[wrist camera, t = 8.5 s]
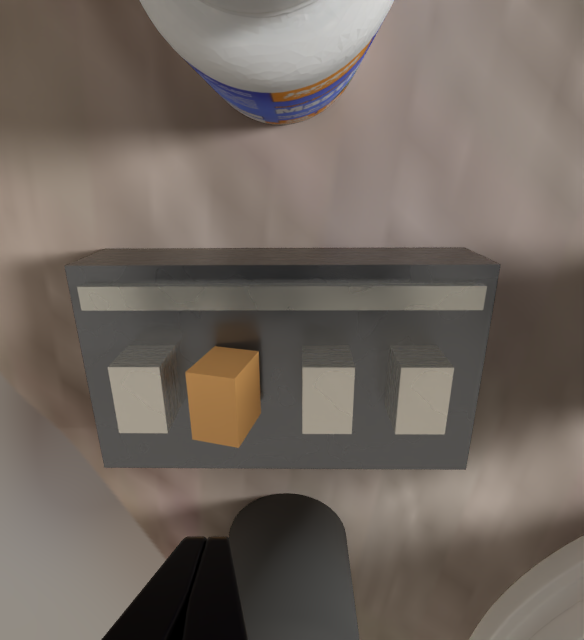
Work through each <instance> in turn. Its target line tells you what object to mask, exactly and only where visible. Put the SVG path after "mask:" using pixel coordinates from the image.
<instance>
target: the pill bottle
mask: <svg viewBox="0 0 584 640" xmlns="http://www.w3.org/2000/svg"><path fill="white" fill-rule="evenodd" d="M139 1H140V2H141V4H142V6H143V8H144V10H145V11H146V13H147V15H148V16H149V18H150V20H151V21H152V22H153V24H154V25H155V27H156V28H157V30H158V31H159V32H160V34H161V35H162V36H163V37H164V39H165V40H166V41H167V42H168V43H169V44H170V46H171V47H172V48H173V49H174V50H175V51H176V52H177V53H178V54H179V55H180V56H181V57H182V58H183V59H184V60H185V61H186V62H187V63H188V64H189V65H190V66H191V67H192V68H193V69H194V70H195V71H196V72H197V73H198V74H199V75H200V76H201V77H202V78H203V79H204V80H205V81H206V82H207V83H208V84H209V85H210V86H211V87H212V88H213V89H214V90H215V91H216V92H217V93H218V94H219V95H220V96H221V97H222V98H223V99H224V100H225V101H226V102H227V103H229V104H230V105H231V106H232V107H233V108H235V109H236V110H237V111H239V112H240V113H242V114H244V115H245V116H247V117H250V118H252V119H254V120H257V121H260V122H263V123H268V124H277V125H285V124H293V123H298V122H301V121H304V120H307V119H310V118H312V117H314V116H316V115H317V114H319V113H321V112H322V111H324V110H325V109H326V108H328V107H329V106H330V105H331V104H332V103H333V102H334V101H335V100H336V99H337V98H338V97H339V96H340V95H341V94H342V93H343V91H344V90H345V89H346V87H347V86H348V84H349V83H350V81H351V80H352V78H353V76H354V74H355V72H356V70H357V69H358V67H359V65H360V63H361V61H362V59H363V58H364V56H365V54H366V52H367V50H368V48H369V47H370V45H371V43H372V41H373V39H374V37H375V36H376V34H377V32H378V30H379V28H380V26H381V25H382V23H383V21H384V19H385V17H386V15H387V14H388V12H389V10H390V8H391V6H392V4H393V1H394V0H139Z"/></svg>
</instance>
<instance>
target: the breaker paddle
mask: <svg viewBox="0 0 584 640" xmlns="http://www.w3.org/2000/svg"><path fill="white" fill-rule="evenodd" d="M185 375H186V384H187V393H188V403H189V412H190V422H191V431H192V440H198V441H203V442H209V443H214V444H220V445H225V446H231V447H236V448H239V447H240V445H241V444H242V442H243V441H244V439H245V438H246V436H247V434H248V433H249V431H250V430H251V428H252V427H253V425H254V423H255V422H256V420H257V419H258V417H259V416H260V414H261V401H260V374H259V351H252V350H244V349H235V348H226V347H217V346H214V347H213V348H212V349H211V350H210V351H209V352H208V353H206V354H205V355H204V356H203V357H202V358H201V359H200V360H199V361H197V362H196V363H195V364H194V365H193V366H192V367H191V368H189V369H188V370H187V371H186V372H185Z"/></svg>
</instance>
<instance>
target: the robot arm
mask: <svg viewBox="0 0 584 640" xmlns="http://www.w3.org/2000/svg"><path fill="white" fill-rule="evenodd" d="M102 640H248V635H247V630H246V625H245V619H244V614H243V609H242V604H241V598H240V593H239V588H238V583H237V577H236V572H235V567H234V562H233V556H232V551H231V546H230V541H229V538H228V537H209V538H208V539H207V538H205V537H186V538H184V539H183V540H182V541H181V543H180V544H179V545H178V546H177V547H176V549H175V550H174V551H173V552H172V554H171V555H170V556H169V557H168V559H167V560H166V561H165V562H164V564H163V565H162V566H161V567H160V568H159V570H158V571H157V572H156V573H155V575H154V576H153V577H152V578H151V580H150V581H149V582H148V583H147V585H146V586H145V587H144V588H143V589H142V591H141V592H140V593H139V594H138V596H137V597H136V598H135V599H134V600H133V602H132V603H131V604H130V605H129V607H128V608H127V609H126V610H125V611H124V613H123V614H122V615H121V616H120V618H119V619H118V620H117V621H116V622H115V624H114V625H113V626H112V627H111V629H110V630H109V631H108V632H107V634H106V635H105V636H104V637H103V638H102Z"/></svg>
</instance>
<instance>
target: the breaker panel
mask: <svg viewBox="0 0 584 640" xmlns="http://www.w3.org/2000/svg"><path fill="white" fill-rule="evenodd" d="M499 270H500V264H498V263H496V262H494V261H492V260H490V259H488V258H486V257H484V256H482V255H480V254H477V253H475V252H473V251H471V250H469V249H467V248H197V249H104V250H101V251H99V252H96V253H94V254H91V255H89V256H87V257H84V258H82V259H79V260H77V261H75V262H72V263H70V264H67V265H65V271H66V276H67V281H68V286H69V291H70V296H71V301H72V306H73V311H74V316H75V321H76V326H77V331H78V336H79V341H80V347H81V352H82V357H83V362H84V367H85V372H86V377H87V382H88V387H89V392H90V397H91V402H92V407H93V412H94V417H95V422H96V427H97V432H98V437H99V442H100V447H101V453H102V458H103V463H104V467H106V468H287V469H466V465H467V459H468V454H469V448H470V442H471V436H472V430H473V424H474V418H475V412H476V406H477V400H478V394H479V388H480V383H481V377H482V371H483V365H484V359H485V353H486V347H487V341H488V335H489V329H490V323H491V317H492V312H493V306H494V300H495V294H496V288H497V282H498V276H499ZM214 346H217V347H226V348H235V349H244V350H252V351H259V374H260V401H261V414H260V416H259V417H258V419H257V420H256V422H255V423H254V425H253V427H252V428H251V430H250V431H249V433H248V434H247V436H246V438H245V439H244V441H243V442H242V444H241V445H240V447H239V448H236V447H231V446H225V445H220V444H214V443H209V442H203V441H198V440H192V431H191V422H190V412H189V403H188V393H187V384H186V375H185V372H186V371H187V370H188V369H189V368H191V367H192V366H193V365H194V364H195V363H196V362H197V361H199V360H200V359H201V358H202V357H203V356H204V355H205V354H206V353H208V352H209V351H210V350H211V349H212V348H213V347H214Z"/></svg>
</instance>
